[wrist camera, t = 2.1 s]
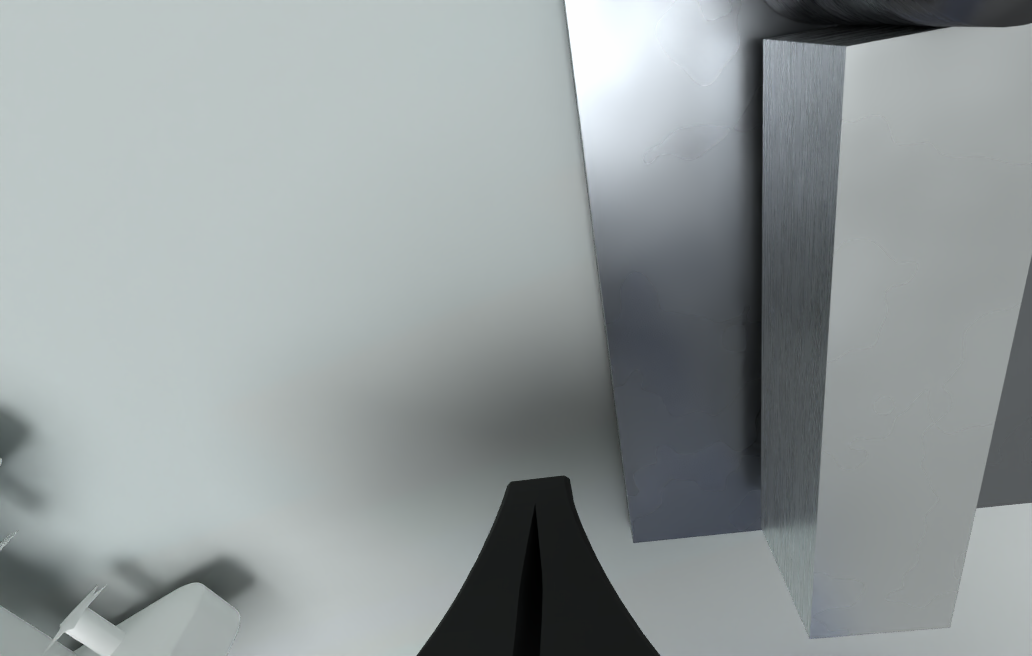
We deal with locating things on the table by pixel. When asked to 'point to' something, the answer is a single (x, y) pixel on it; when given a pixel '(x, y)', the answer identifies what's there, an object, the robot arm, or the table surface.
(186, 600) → the cable organizer
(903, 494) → the bar
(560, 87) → the table surface
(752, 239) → the lid
